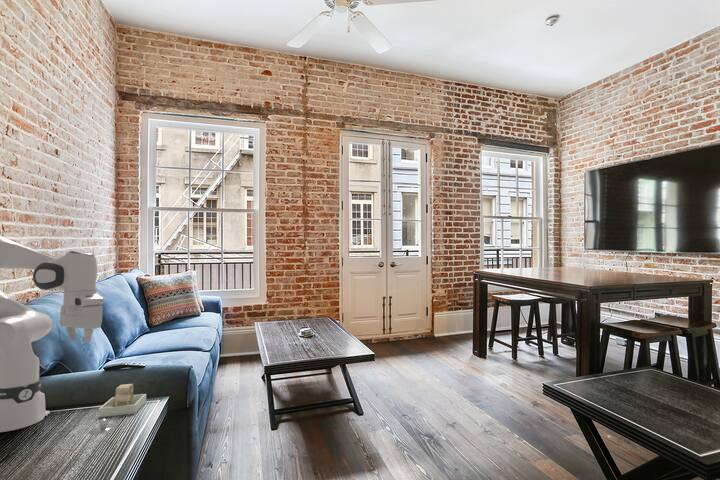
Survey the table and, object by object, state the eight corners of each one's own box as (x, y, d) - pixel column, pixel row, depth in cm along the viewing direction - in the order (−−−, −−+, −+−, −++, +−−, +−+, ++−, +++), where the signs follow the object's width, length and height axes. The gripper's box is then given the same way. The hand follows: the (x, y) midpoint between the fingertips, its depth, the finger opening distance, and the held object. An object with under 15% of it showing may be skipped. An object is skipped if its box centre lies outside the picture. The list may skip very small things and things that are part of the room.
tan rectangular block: (120, 408, 141) (120, 384, 142) (132, 407, 142) (133, 383, 143) (115, 413, 137) (115, 388, 138) (128, 411, 138) (128, 387, 139)
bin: (98, 419, 133) (98, 408, 133) (112, 407, 144) (112, 397, 145) (135, 415, 135) (135, 404, 136) (146, 403, 147) (146, 393, 147)
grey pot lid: (83, 434, 121) (83, 421, 121) (109, 424, 128) (109, 412, 128) (96, 439, 117) (96, 426, 118) (122, 429, 124) (122, 416, 125)
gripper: (54, 299, 125) (53, 340, 124) (85, 300, 115) (84, 345, 114) (75, 297, 130) (74, 336, 129) (106, 298, 120) (106, 341, 120)
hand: (79, 341), depth 122 cm, fingers open, 8 cm apart
